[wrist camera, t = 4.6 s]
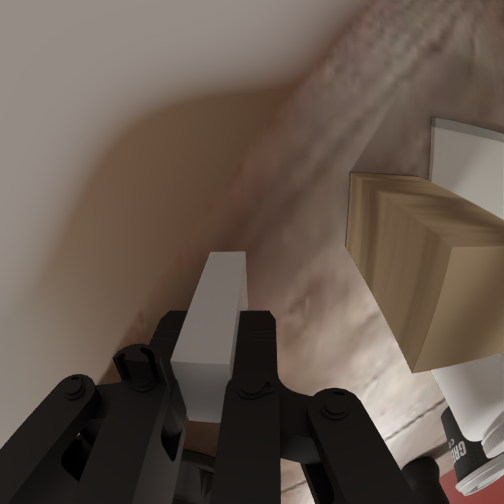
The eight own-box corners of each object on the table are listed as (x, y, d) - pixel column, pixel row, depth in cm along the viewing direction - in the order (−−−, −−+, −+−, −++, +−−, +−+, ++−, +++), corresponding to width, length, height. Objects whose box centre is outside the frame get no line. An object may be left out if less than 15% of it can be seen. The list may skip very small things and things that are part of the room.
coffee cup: (448, 394, 32) (483, 477, 19) (491, 383, 32) (528, 452, 18) (423, 431, 36) (447, 505, 23) (465, 419, 36) (492, 484, 22)
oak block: (345, 245, 24) (412, 373, 11) (349, 172, 21) (452, 246, 9) (409, 245, 24) (502, 352, 11) (418, 176, 21) (543, 245, 8)
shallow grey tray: (408, 294, 26) (411, 298, 25) (431, 117, 19) (435, 117, 18) (524, 282, 25) (527, 285, 24) (550, 150, 18) (554, 151, 17)
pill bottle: (474, 357, 29) (523, 442, 16) (423, 378, 30) (464, 476, 17) (485, 310, 26) (553, 400, 13) (430, 332, 27) (490, 442, 14)
